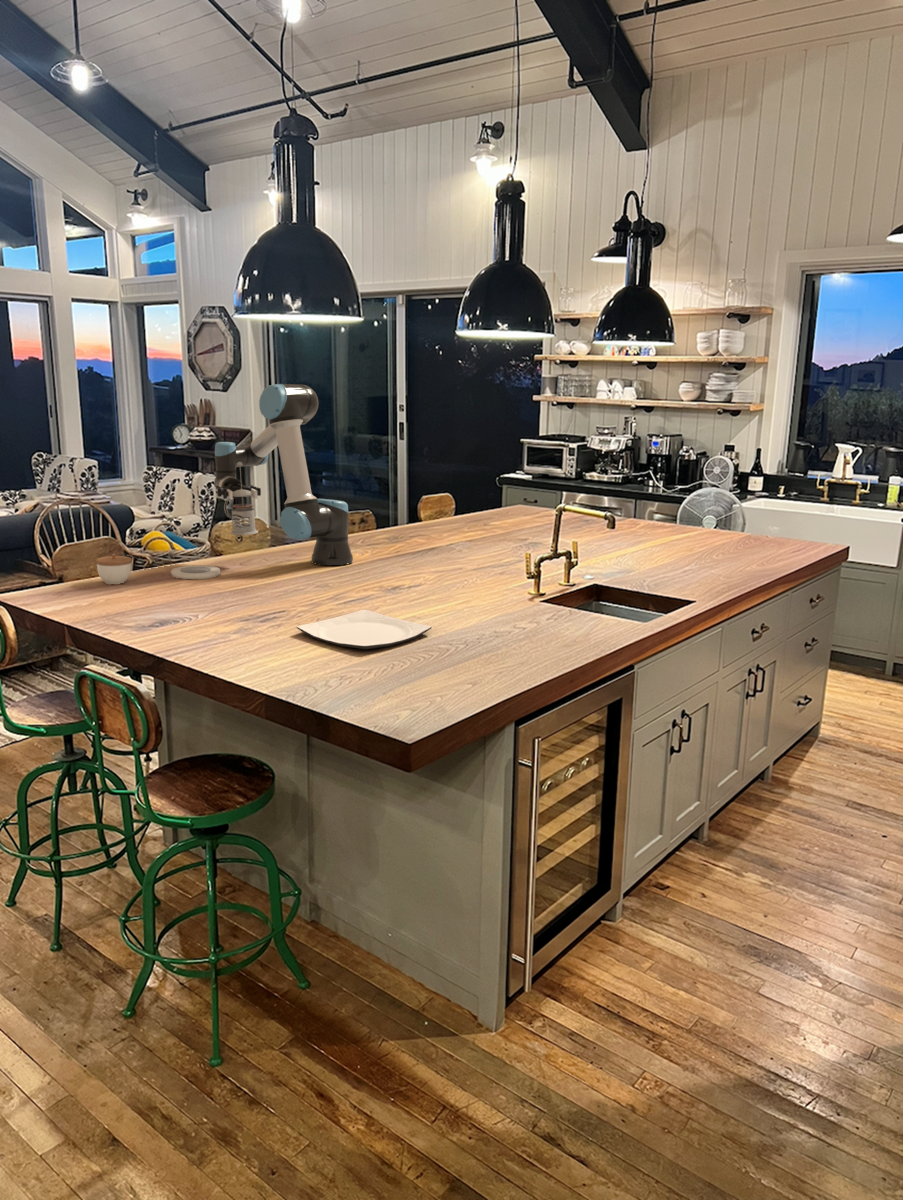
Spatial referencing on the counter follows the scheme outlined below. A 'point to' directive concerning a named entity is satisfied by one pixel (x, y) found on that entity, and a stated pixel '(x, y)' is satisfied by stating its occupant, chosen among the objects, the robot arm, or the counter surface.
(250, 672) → the counter surface
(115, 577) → the lidded jar
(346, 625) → the plate
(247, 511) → the french press
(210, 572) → the disc
